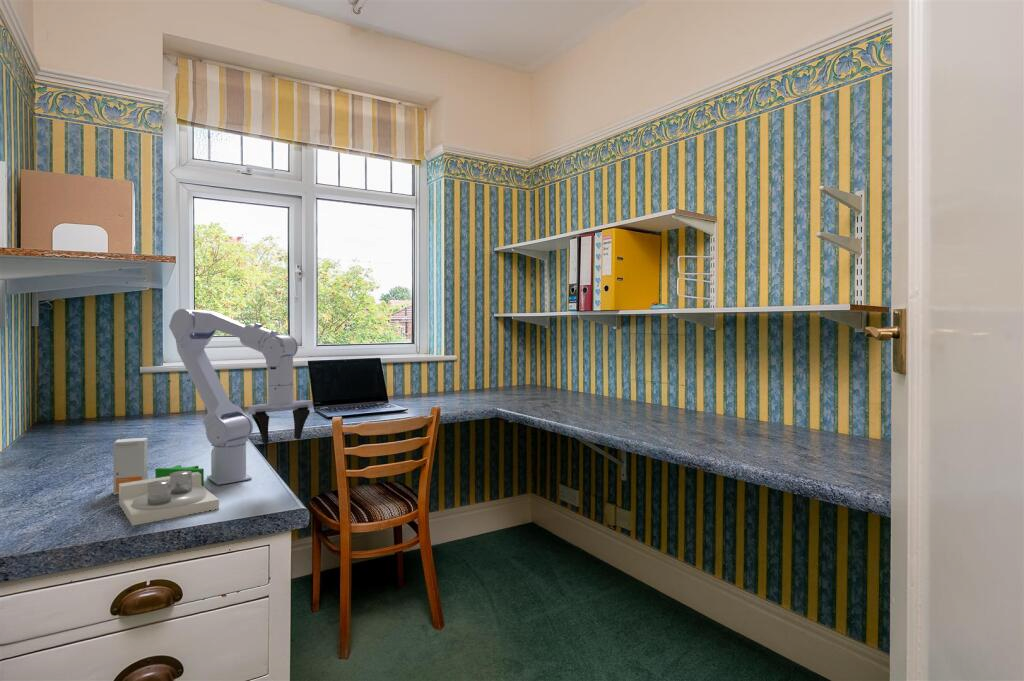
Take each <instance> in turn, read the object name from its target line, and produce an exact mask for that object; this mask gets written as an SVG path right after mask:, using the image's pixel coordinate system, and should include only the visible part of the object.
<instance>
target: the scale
mask: <svg viewBox="0 0 1024 681" xmlns="http://www.w3.org/2000/svg"><path fill="white" fill-rule="evenodd" d="M158 480H170V476H167V477H160V478H156V477H155V478H149V479H147V480H140V481H134V482H127V483H120V484H119V494H118V505H119V507H120V508H122V509H121V510H122V511H124V512H123V513H124V515H125V516H126V518H127V519H129V523H130V525H131V526H132V527H133V526H138V525H139V526H140V525H143V524H148V523H154V521H155V522H158V521H163V520H164V519H165V520H169V519H174V518H179V517H180V518H181V517H185V516H189V514H191V515H194V513H196V514H200V513H199V512H201V513H205V511H206V512H209V510H211V511H216V510H220V500H219V498H217V497H216V495H214V494H213V493H212V492H210V491H209V490H208V489H207V488H205V487H203V486H202V485H201V474H200V473H199V472H194V473H192V491H191V492H188V493H184V494H171V502H169V503H167V504H163V505H156V506H150V505H148V504H147V484H148V483H150V482H153V481H158ZM215 509H216V510H215ZM165 520H164V521H165Z"/></svg>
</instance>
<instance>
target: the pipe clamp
mask: <svg viewBox="0 0 1024 681" xmlns="http://www.w3.org/2000/svg"><path fill="white" fill-rule="evenodd" d="M154 471H155V472H154V473H155V478H160V477H167V476H170V474H171V473H173V472H178V471H192V473H194V472H199V473H200V474H201V485H202V486H203V487H204V478H205V475H204V474H205V472H204V468H199V465H194V466H187V467H186V466H185V467H182V465H181V464H180V465H179V464H178V465H175V466H172V467H157V468H155V470H154ZM204 488H205V487H204Z"/></svg>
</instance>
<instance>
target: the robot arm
mask: <svg viewBox="0 0 1024 681" xmlns="http://www.w3.org/2000/svg"><path fill="white" fill-rule="evenodd" d="M169 322H170V323H169V325H168V327H169V329H170V331H171V333H172V335H173V337H174V339H175V344H176V350H177V353H178V355H179V357H180V359H181V362H182V363H183V366H184V367H185V370H186V372H187V373H188V375H189V376H190V380H191V381H192V383H193V386H194V387H195V389H196V391H197V393H198V395H199V396H200V399H201V401H202V403H203V405H204V407H205V409H206V411H207V414H206V415H205V417H204V418H203V421H202V423H203V425H204V427H205V435H206V439H207V440H208V442H209V443H210V444H211V447H213V448H212V450H211V453H210V456H211V457H210V464H211V465H210V466H211V467H210V468H211V469H210V470H211V472H210V473H211V474H208V475H207V476H206V478H207V479H209V481H212V482H213V483H214V484H215V485H217V486H218V485H226V484H231V483H232V484H233V483H236V482H237V483H238V482H242V481H243V482H244V481H249V480H253V477H252V476H250V475H249V474H247V442H248V441H249V437H250V436H251V435H252V433H253V430H254V426H253V421H252V419H253V420H254V422H255V424H256V426H257V428H258V430H259V433H260V437H261V441H262V443H263V444H265V445H268V444H269V443H270V442H269V441H270V440H269V437H270V436H269V423H270V416H269V415H268V413H274V412H284V411H292V417H293V424H294V427H293V428H294V433H293V434H294V439H295V440H301V438H302V434H303V430H304V426H305V423H306V421H307V419H308V416H309V415H310V412H311V410H310V409H313V400H311V399H305V400H295V399H294V398H295V397H294V396H295V395H294V391H295V390H294V389H295V388H294V356H296V354H297V353H298V349H299V346H298V342H297V340H296V339H295V337H293V336H291V334H283V335H280V334H279V332H278V330H275V329H273V330H272V329H271V330H270V329H268V328H266V327H263V324H262V323H260V322H254V323H249V324H246V325H245V324H243V323H241V322H239V321H236V320H235V319H232V318H231V317H228V316H226V315H223V314H222V313H220V312H218V311H217V312H216V311H213V310H211V309H205V310H200V309H186V308H178V309H176V311H174V312H173V314H172V317H171V319H170V321H169ZM217 331H219V332H221V333H225V334H228V335H230V336H232V337H235V338H239V341H240V343H241V345H242V346H245V347H247V348H250V349H252V350H255V351H257V352H259V353H261V354H262V355H263V356H264V358H265V364H266V366H267V401H268V402H266V403H260V404H259V403H258V404H252V405H251V404H249V405H248V406H247V407H248V408H247V409H248V411H247V412H248V415H251V417H252V419H251V418H250V416H248V415H246V413H244V411H243V409H242V408H241V407H240V406H238V405H236V404H234V403H232V402H231V400H230V398H229V396H228V394H227V392H226V389H225V388H224V387H223V384H222V383H221V381H220V378H219V376H218V375H217V373H216V370H215V369H214V367H213V365H212V362H211V361H210V358H209V357H208V354H207V352H206V350H205V348H206V346H207V345H209V344H210V342H211V341H212V338H213V337H214V336H215V335H216V333H217Z"/></svg>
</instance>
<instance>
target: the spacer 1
mask: <svg viewBox="0 0 1024 681" xmlns="http://www.w3.org/2000/svg"><path fill="white" fill-rule="evenodd" d="M169 502H171V481H170V480H158V481H153V482H150V483H148V484H147V504H148V505H150V506H156V505H163V504H167V503H169Z"/></svg>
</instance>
